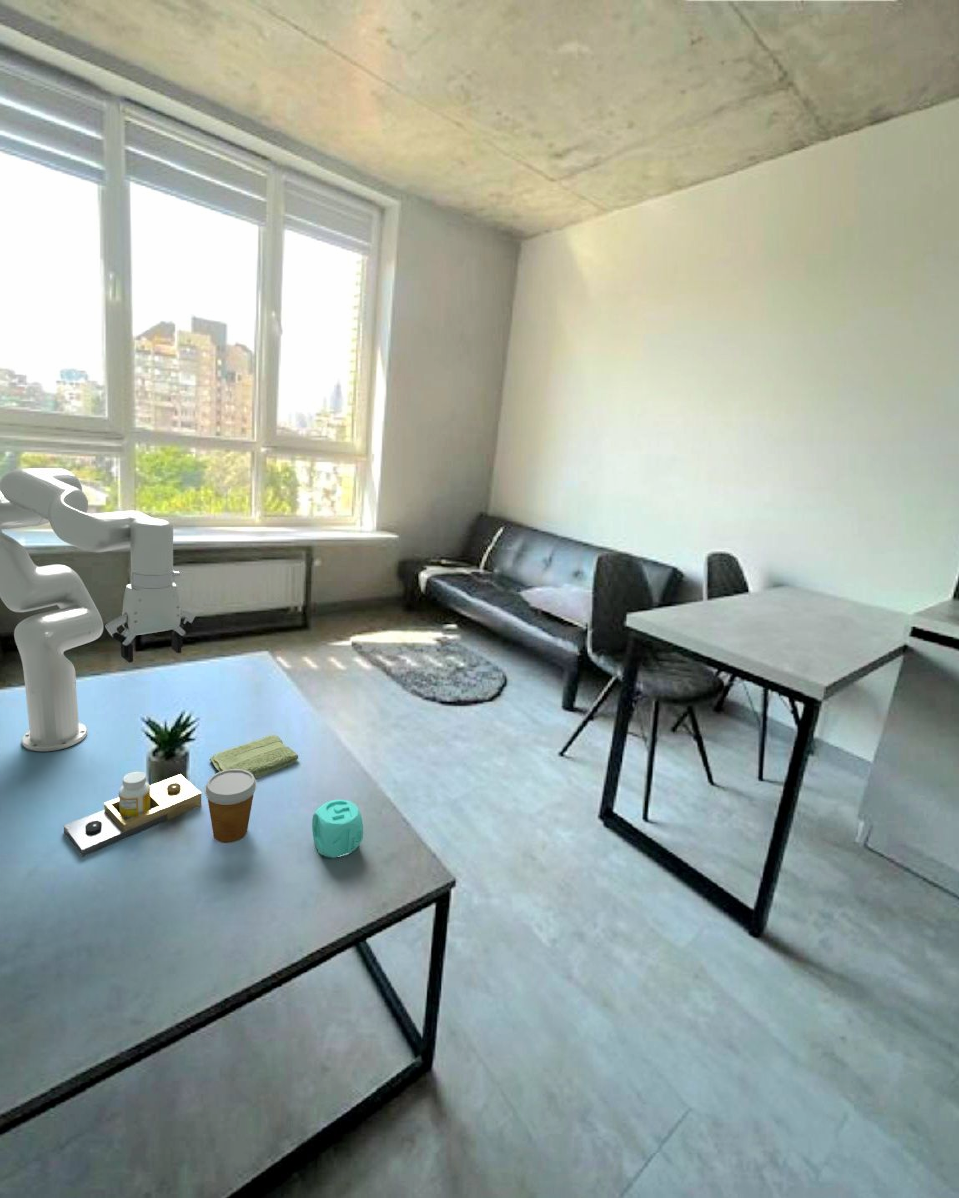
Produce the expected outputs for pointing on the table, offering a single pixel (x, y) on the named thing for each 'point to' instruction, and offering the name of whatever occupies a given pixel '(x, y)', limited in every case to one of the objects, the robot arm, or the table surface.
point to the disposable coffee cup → (230, 803)
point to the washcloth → (256, 756)
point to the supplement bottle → (134, 795)
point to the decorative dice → (337, 828)
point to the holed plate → (112, 827)
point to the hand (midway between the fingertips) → (152, 655)
